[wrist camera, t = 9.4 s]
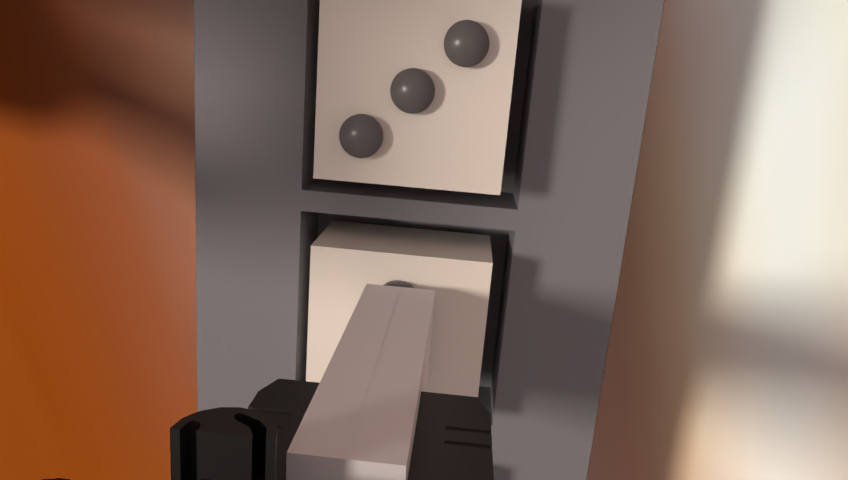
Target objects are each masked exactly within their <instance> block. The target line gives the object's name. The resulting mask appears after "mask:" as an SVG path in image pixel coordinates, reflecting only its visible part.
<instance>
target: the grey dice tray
mask: <svg viewBox="0 0 848 480" xmlns="http://www.w3.org/2000/svg"><path fill="white" fill-rule="evenodd" d="M663 5H664V0H522V4H521V13H520V22H519V31H518V40H517V49H516V58H515V67H514V76H513V85H512V94H511V103H510V112H509V121H508V130H507V139H506V148H505V157H504V166H503V175H502V184H501V193H500V195H492V194H481V193H470V192H459V191H448V190H437V189H426V188H415V187H404V186H393V185H382V184H371V183H360V182H349V181H337V180H326V179H315V178H313V170H314V143H315V116H316V89H317V62H318V34H319V7H320V0H194V75H195V183H196V291H197V399H198V412H199V411H202V410H208V409H213V408H219V407H241V408H246V409H248V406H249V405H250V403H251V402H252V400H253V399H254V397H255V396H256V394H257V393H258V391H259V390H261V389H263V388H264V387H266V386H268V385H269V384H271V383H272V382H274V381H276V380H277V379H289V380H298V381H306V361H307V334H308V307H309V280H310V253H311V245H312V244H313V242H314V241H315V240H316V239H317V238H318V237H319V236H320V234H321V233H322V232H323V231H324V230H325V229H326V227H327V226H328V225H329V224H330V223H331V222H332V221H342V222H352V223H363V224H374V225H384V226H395V227H406V228H417V229H427V230H438V231H449V232H459V233H470V234H481V235H490V241H491V251H492V260H493V266H492V275H491V284H490V293H489V302H488V311H487V320H486V329H485V338H484V347H483V356H482V365H481V374H480V383H479V392H478V398H479V399H480V401H481V402H482V403H483V404H484V406H485V407H486V408H487V410H488V411H489V412H490V413H491V435H492V453H493V473H494V480H586V478H587V472H588V466H589V460H590V454H591V448H592V442H593V435H594V429H595V423H596V417H597V411H598V405H599V399H600V392H601V386H602V380H603V374H604V368H605V362H606V356H607V349H608V343H609V337H610V331H611V325H612V319H613V312H614V306H615V300H616V294H617V288H618V282H619V276H620V269H621V263H622V257H623V251H624V245H625V239H626V233H627V226H628V220H629V214H630V208H631V202H632V196H633V190H634V183H635V177H636V171H637V165H638V159H639V153H640V147H641V140H642V134H643V128H644V122H645V116H646V110H647V103H648V97H649V91H650V85H651V79H652V73H653V67H654V60H655V54H656V48H657V42H658V36H659V30H660V24H661V17H662V11H663Z"/></svg>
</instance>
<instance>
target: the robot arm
mask: <svg viewBox="0 0 848 480" xmlns="http://www.w3.org/2000/svg"><path fill="white" fill-rule="evenodd" d="M434 298H435V290H427V289H417V288H406V287H396V286H386V285H376V284H366V286H365V288H364V290H363V292H362V295H361V297H360V299H359V301H358V303H357V305H356V307H355V309H354V311H353V314H352V316H351V318H350V320H349V322H348V324H347V326H346V328H345V330H344V333H343V335H342V337H341V339H340V341H339V343H338V345H337V347H336V349H335V352H334V354H333V356H332V358H331V360H330V362H329V364H328V366H327V368H326V371H325V373H324V375H323V377H322V379H321V381H320V383H317V382H308V381H298V380H289V379H277V380H276V381H274V382H272V383H271V384H269V385H268V386H266V387H264V388H263V389H261V390H259V391H258V393H257V394H256V396H255V397H254V399H253V400H252V402H251V403H250V405H249V406H248V409H246V408H241V407H219V408H213V409H208V410H202V411H199V412H196V413H194V414H191V415H189V416H187V417H184V418H182V419H181V420H180V421H178V422H177V423H176V424H175V425H173V426H172V427H171V428H170V452H171V480H494V473H493V453H492V435H491V413H490V412H489V411H488V410H487V408H486V407H485V406H484V404H483V403H482V402H481V401H480V399H479V398H478V397H471V396H461V395H452V394H442V393H433V392H426V389H427V377H428V366H429V355H430V343H431V332H432V321H433V309H434ZM43 480H69V479H62V478H56V479H43Z"/></svg>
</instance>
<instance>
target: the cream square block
mask: <svg viewBox="0 0 848 480" xmlns="http://www.w3.org/2000/svg"><path fill="white" fill-rule="evenodd" d="M492 266H493V260H492V251H491V241H490V235H481V234H470V233H459V232H449V231H438V230H427V229H417V228H406V227H395V226H384V225H374V224H363V223H352V222H342V221H332V222H331V223H330V224H329V225H328V226H327V227H326V229H325V230H324V231H323V232H322V233H321V234H320V236H319V237H318V238H317V239H316V240H315V241H314V242H313V244H312V245H311V253H310V280H309V307H308V334H307V361H306V381H308V382H317V383H320V381H321V379H322V377H323V375H324V373H325V371H326V368H327V366H328V364H329V362H330V360H331V358H332V356H333V354H334V352H335V349H336V347H337V345H338V343H339V341H340V339H341V337H342V335H343V333H344V330H345V328H346V326H347V324H348V322H349V320H350V318H351V316H352V314H353V311H354V309H355V307H356V305H357V303H358V301H359V299H360V297H361V295H362V292H363V290H364V288H365V286H366V284H376V285H386V286H396V287H406V288H417V289H427V290H435V298H434V309H433V321H432V332H431V343H430V355H429V366H428V377H427V389H426V392H433V393H442V394H452V395H461V396H471V397H478V392H479V383H480V374H481V365H482V356H483V347H484V338H485V329H486V320H487V311H488V302H489V293H490V284H491V275H492Z"/></svg>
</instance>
